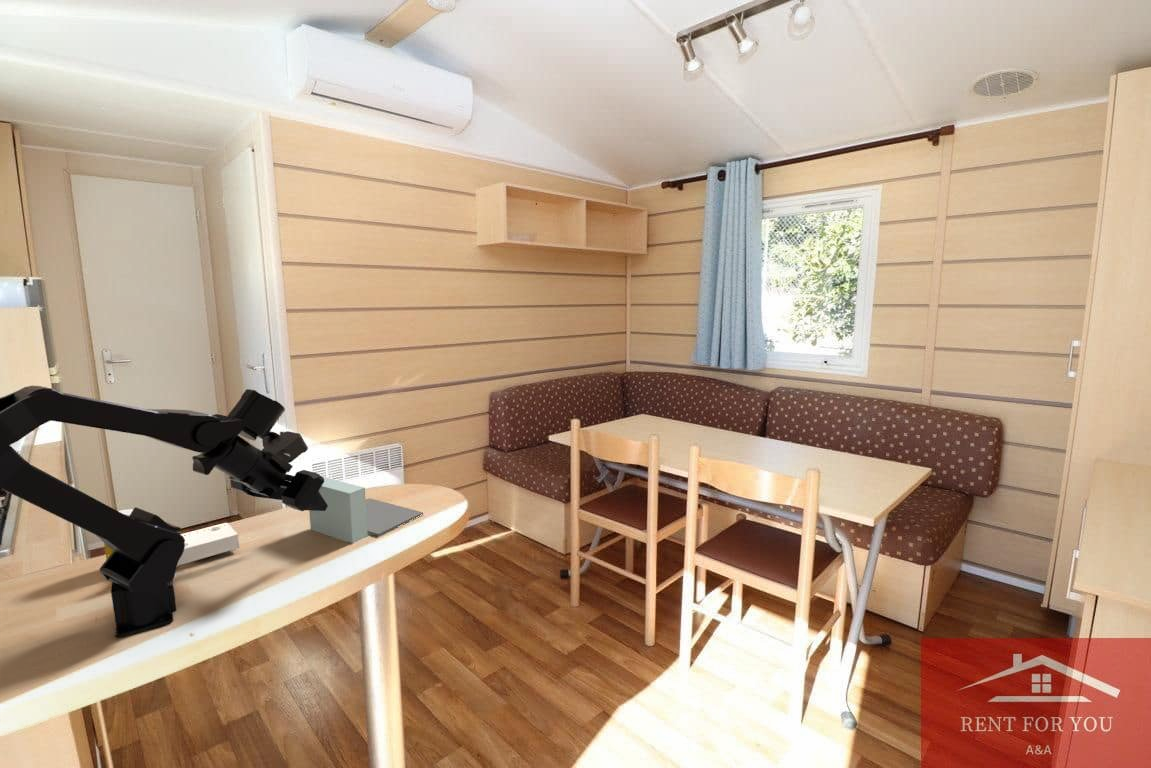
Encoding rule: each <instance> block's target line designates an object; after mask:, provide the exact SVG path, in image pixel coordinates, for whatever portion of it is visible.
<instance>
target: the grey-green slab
mask: <svg viewBox="0 0 1151 768" xmlns="http://www.w3.org/2000/svg"><path fill="white" fill-rule="evenodd" d="M322 477H323V478H324V483H323V485H322V486H321V488H320V489H319V492H320V494H321V496H322V497H323V499H324V500H325V502H326V503H327V505H328V507H327V509H326V510H325V511H310V510H308V511H309V523H310V524H309V525H310V531H312V530H313V531H312V532H315V531H316V533H318V532H319V533H318V534H321V533H322V534H321V535H324V534H325V536H327V535H329V536H328V537H330V536H332V537H331V538H334V537H335V538H334V539H337V538H338V540H340V539H341V540H340V541H343V540H344V542H346V541H347V542H346V543H349V542H350V543H349V544H352V543H353V544H355V543H354V542H356V543H358V542H360V541H362V540H364V539H366V538H368V536H369V534H368V533H367V516H366V488H365V487H364V486H359V485H356V484H353V483H352V484H351V483H348V482H344V481H341V480H337V479H332V478H330V477H329V478H328V477H325V476H322ZM363 538H364V539H363ZM361 539H362V540H361ZM359 540H360V541H359ZM357 541H358V542H357Z"/></svg>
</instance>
